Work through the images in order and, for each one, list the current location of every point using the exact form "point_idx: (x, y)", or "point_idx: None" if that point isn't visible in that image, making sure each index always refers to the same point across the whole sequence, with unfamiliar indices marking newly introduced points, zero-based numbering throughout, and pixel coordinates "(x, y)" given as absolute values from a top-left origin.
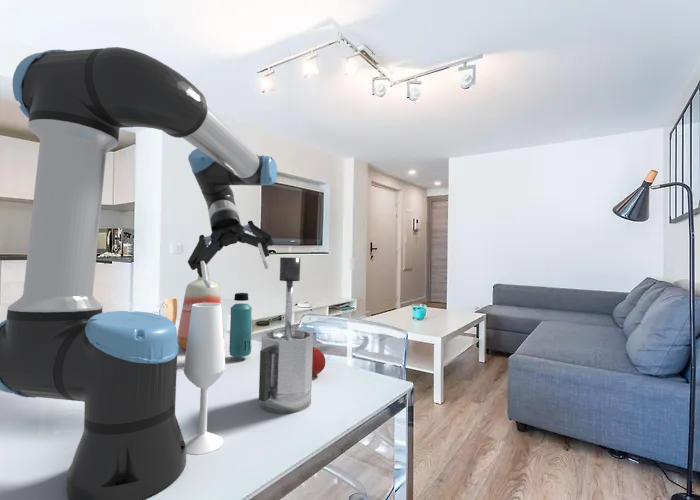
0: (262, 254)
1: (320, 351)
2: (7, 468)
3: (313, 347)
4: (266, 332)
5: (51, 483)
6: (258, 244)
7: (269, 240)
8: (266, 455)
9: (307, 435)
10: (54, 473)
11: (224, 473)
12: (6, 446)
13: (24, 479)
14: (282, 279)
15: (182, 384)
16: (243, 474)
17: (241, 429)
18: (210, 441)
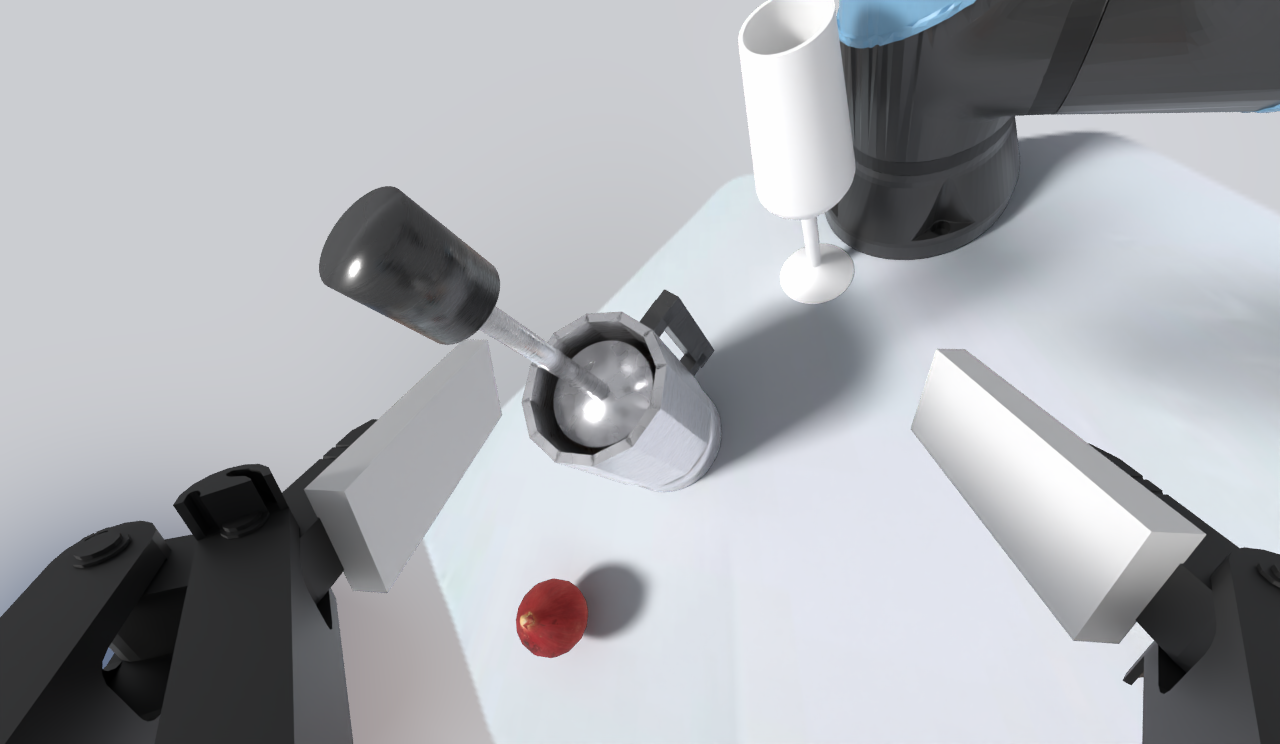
0: (439, 374)
1: (518, 615)
2: (1198, 176)
3: (529, 617)
4: (650, 415)
5: (1042, 157)
6: (349, 475)
7: (171, 542)
8: (707, 249)
9: (643, 303)
10: (1063, 176)
11: (762, 207)
12: None
13: (1112, 157)
14: (489, 264)
15: (1010, 633)
16: (736, 208)
17: (752, 321)
18: (798, 259)
